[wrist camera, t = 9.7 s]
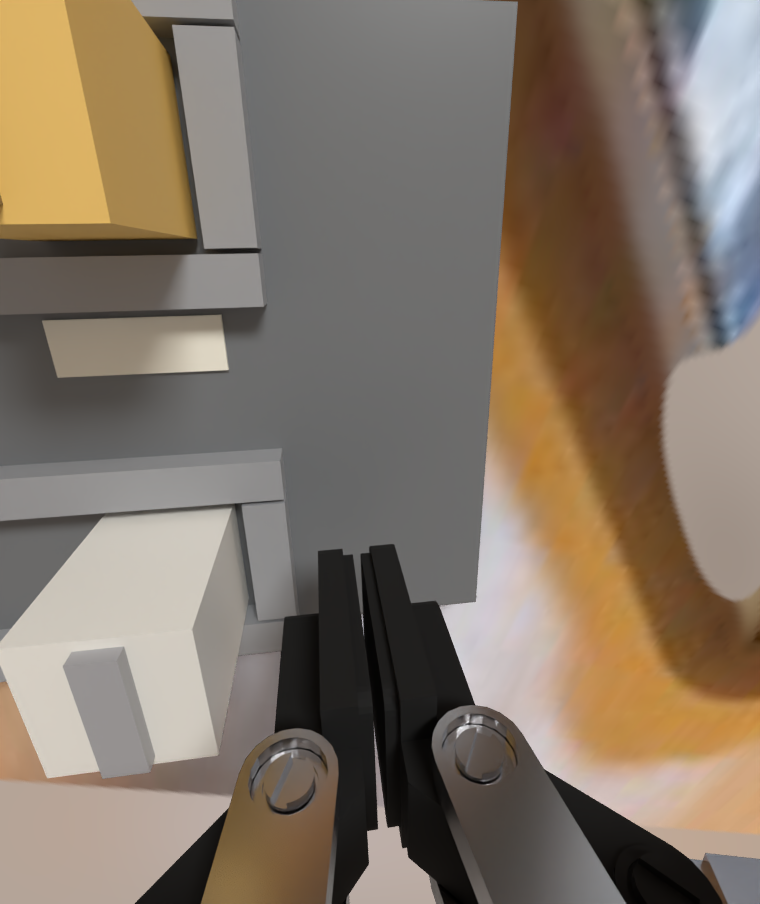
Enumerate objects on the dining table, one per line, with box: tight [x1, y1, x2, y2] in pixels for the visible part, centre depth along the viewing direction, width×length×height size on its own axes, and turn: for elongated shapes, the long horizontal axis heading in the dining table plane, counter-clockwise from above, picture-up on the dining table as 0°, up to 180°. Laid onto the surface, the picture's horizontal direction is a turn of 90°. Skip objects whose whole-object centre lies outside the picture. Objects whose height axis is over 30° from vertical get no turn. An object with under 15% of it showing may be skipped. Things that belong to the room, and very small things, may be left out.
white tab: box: [0, 503, 249, 779], centre depth 10 cm, size 3×3×5 cm
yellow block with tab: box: [0, 0, 197, 241], centre depth 7 cm, size 3×3×5 cm
